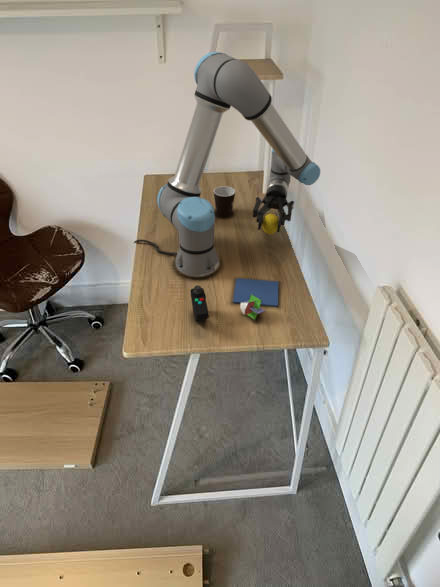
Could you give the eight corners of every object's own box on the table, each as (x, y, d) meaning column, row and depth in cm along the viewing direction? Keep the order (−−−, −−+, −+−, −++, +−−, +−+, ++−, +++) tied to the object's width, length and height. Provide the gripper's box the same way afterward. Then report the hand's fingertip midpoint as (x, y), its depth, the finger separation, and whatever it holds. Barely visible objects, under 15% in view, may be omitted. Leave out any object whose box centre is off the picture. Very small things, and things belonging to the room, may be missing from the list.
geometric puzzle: (255, 296, 135) (246, 287, 129) (272, 306, 132) (264, 297, 125) (242, 315, 135) (232, 307, 128) (259, 326, 131) (250, 318, 125)
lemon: (260, 230, 150) (261, 209, 145) (276, 229, 150) (278, 209, 145) (262, 239, 146) (264, 218, 141) (278, 238, 146) (281, 217, 141)
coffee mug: (226, 221, 174) (226, 198, 167) (209, 214, 178) (209, 192, 171) (242, 209, 181) (244, 187, 174) (226, 203, 185) (226, 181, 178)
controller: (204, 306, 135) (203, 280, 128) (210, 334, 126) (210, 308, 119) (190, 307, 134) (189, 282, 128) (195, 335, 125) (194, 310, 119)
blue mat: (232, 303, 136) (232, 301, 136) (236, 279, 145) (236, 278, 145) (277, 306, 135) (277, 305, 134) (278, 282, 144) (278, 281, 144)
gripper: (301, 205, 158) (296, 240, 141) (250, 200, 161) (240, 233, 144) (303, 186, 154) (299, 220, 136) (251, 181, 156) (241, 214, 139)
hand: (269, 227), depth 140 cm, fingers closed on lemon, 5 cm apart
